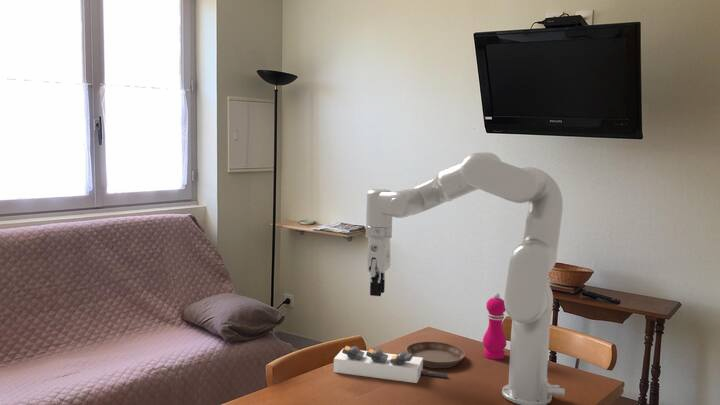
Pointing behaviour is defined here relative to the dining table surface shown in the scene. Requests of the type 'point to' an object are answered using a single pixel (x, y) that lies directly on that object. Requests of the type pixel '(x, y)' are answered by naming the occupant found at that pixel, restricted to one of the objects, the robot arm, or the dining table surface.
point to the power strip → (383, 368)
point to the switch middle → (377, 355)
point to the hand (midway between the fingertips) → (377, 293)
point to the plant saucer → (436, 354)
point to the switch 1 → (353, 352)
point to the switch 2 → (401, 358)
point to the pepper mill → (495, 329)
